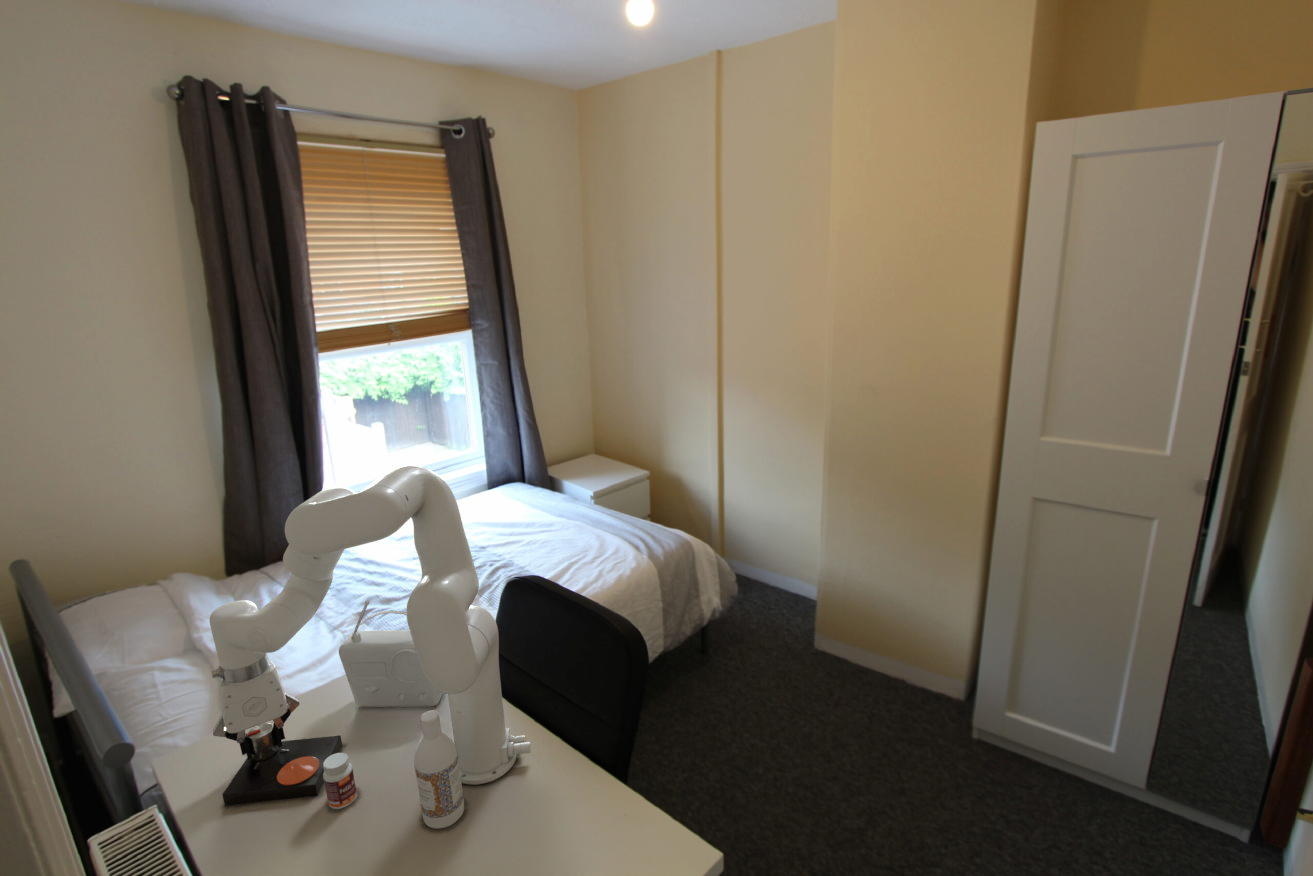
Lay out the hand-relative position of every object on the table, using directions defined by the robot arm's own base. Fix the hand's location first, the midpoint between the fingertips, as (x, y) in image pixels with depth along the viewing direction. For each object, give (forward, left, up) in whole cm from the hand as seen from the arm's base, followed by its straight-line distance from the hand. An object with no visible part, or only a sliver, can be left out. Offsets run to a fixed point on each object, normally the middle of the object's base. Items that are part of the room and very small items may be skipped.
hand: (264, 748), depth 127 cm
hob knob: (0, 0, -1) cm, 1 cm away
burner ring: (-9, +6, -1) cm, 10 cm away
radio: (-21, -16, -4) cm, 27 cm away
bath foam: (-37, +18, -4) cm, 41 cm away
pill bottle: (-18, +12, -4) cm, 22 cm away
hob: (-5, +4, -4) cm, 7 cm away
